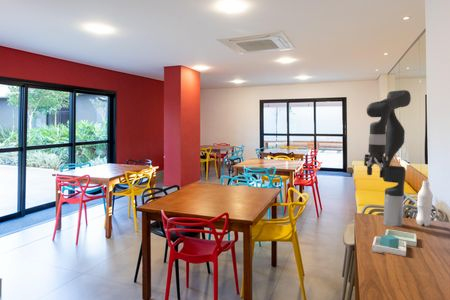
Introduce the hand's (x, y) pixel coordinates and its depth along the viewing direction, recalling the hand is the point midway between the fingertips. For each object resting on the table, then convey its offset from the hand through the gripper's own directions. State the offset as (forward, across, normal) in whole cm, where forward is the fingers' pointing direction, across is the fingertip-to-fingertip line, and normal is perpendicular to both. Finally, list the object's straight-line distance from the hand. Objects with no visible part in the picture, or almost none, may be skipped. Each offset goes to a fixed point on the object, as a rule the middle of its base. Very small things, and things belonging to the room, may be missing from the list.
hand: (375, 176), depth 150 cm
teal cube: (+29, -17, +6) cm, 34 cm away
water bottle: (+30, +9, -41) cm, 52 cm away
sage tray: (+30, -9, -8) cm, 32 cm away
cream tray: (+30, -17, +6) cm, 35 cm away
